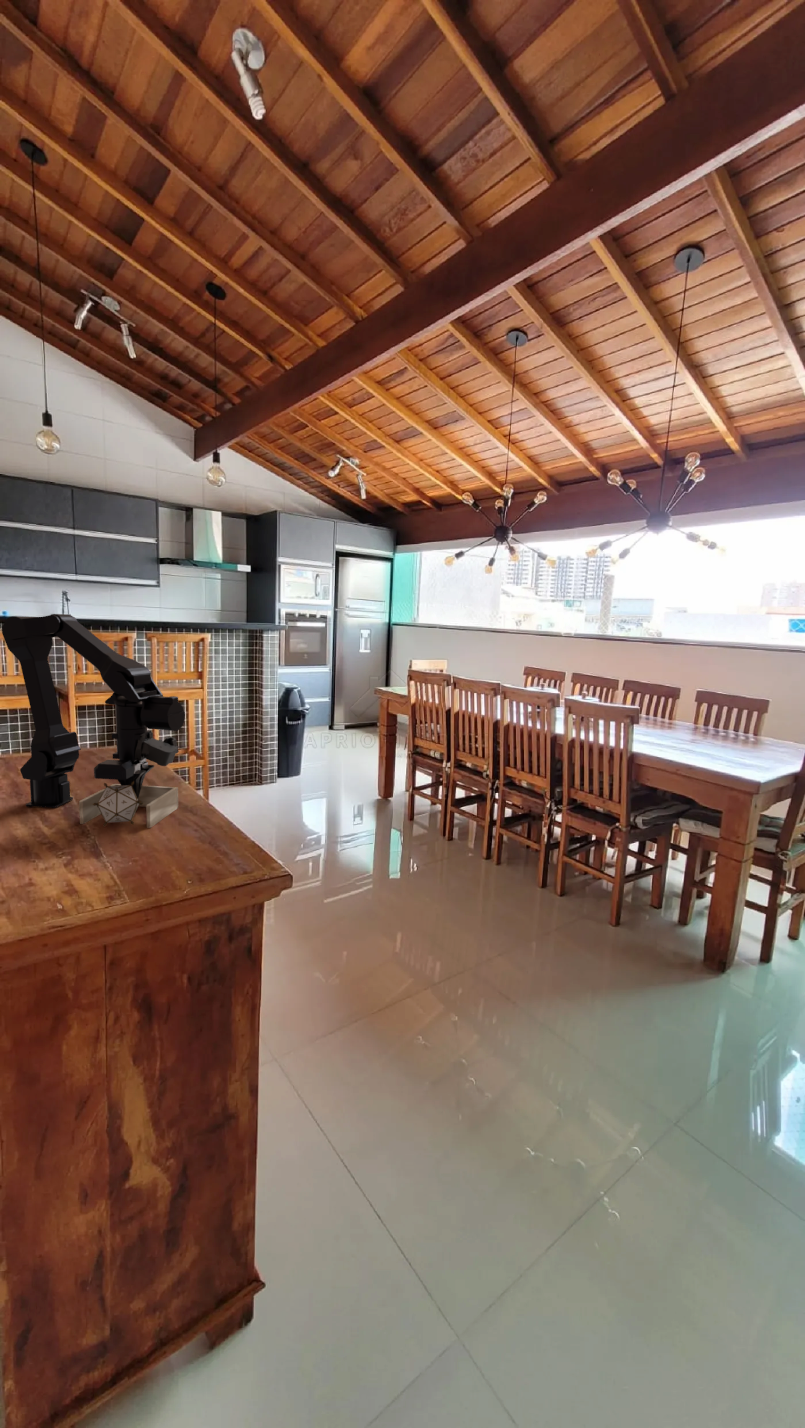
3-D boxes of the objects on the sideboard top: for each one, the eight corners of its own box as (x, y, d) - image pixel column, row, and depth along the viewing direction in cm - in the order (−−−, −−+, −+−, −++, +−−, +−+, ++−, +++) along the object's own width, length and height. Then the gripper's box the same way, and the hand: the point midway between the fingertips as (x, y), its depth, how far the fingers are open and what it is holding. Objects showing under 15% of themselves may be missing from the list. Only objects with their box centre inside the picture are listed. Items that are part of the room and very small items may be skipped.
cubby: (79, 823, 113) (78, 801, 112) (114, 804, 125) (113, 783, 125) (150, 827, 112) (149, 805, 112) (178, 807, 125) (177, 787, 124)
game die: (123, 844, 113) (119, 815, 106) (86, 825, 114) (79, 795, 107) (154, 811, 120) (151, 782, 113) (118, 793, 121) (114, 763, 114)
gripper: (149, 738, 108) (152, 818, 110) (189, 721, 126) (190, 790, 129) (90, 735, 108) (94, 815, 110) (139, 718, 126) (141, 787, 129)
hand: (134, 801), depth 120 cm, fingers closed
